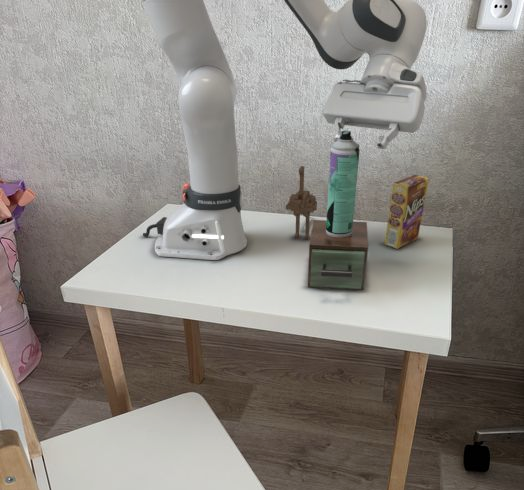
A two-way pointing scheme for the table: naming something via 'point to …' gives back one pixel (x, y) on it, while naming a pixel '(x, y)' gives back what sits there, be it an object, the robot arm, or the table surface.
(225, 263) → the table surface
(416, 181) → the candy box
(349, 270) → the cabinet drawer
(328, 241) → the cabinet
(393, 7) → the robot arm
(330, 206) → the spray can
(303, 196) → the ostrich figurine
